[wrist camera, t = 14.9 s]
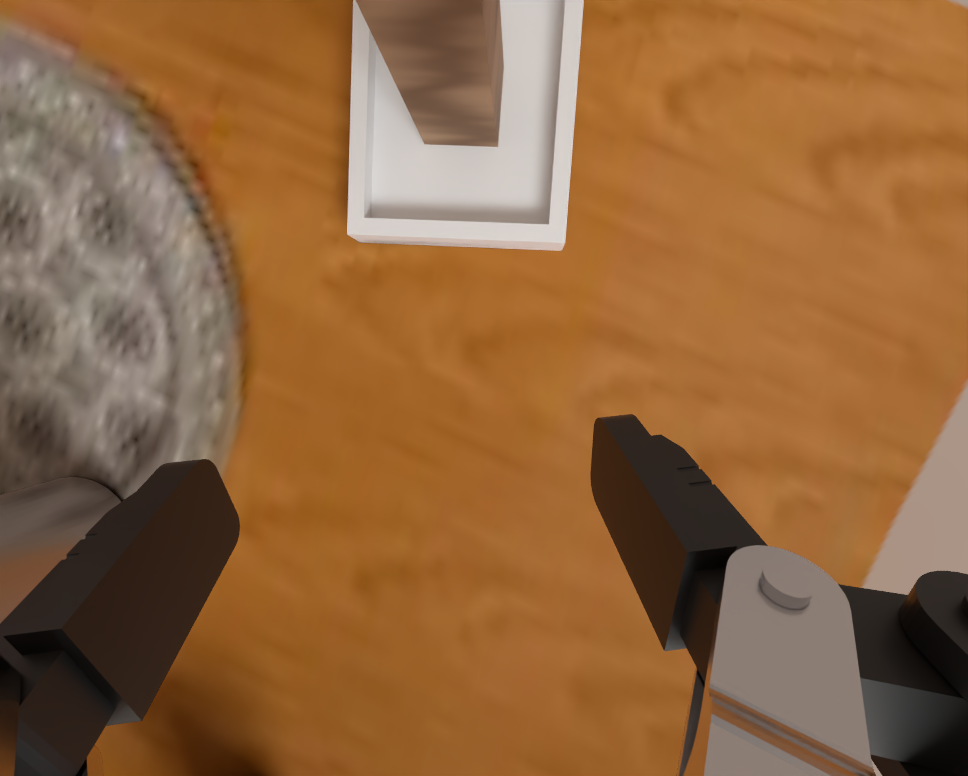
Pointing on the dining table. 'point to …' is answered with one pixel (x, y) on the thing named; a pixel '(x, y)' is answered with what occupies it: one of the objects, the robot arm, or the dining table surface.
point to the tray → (470, 169)
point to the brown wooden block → (444, 65)
